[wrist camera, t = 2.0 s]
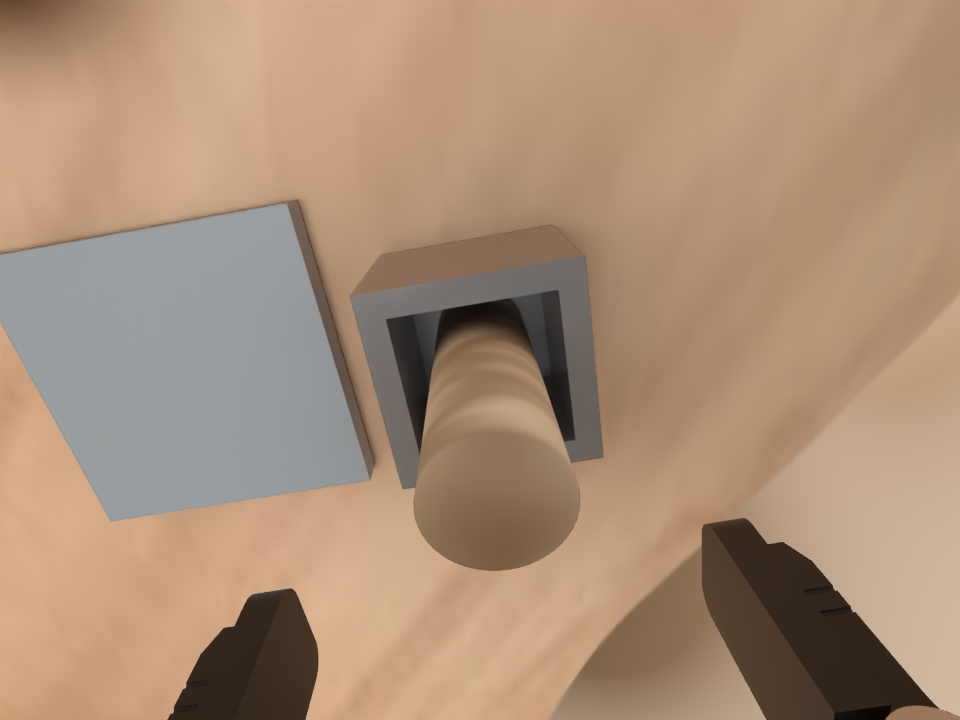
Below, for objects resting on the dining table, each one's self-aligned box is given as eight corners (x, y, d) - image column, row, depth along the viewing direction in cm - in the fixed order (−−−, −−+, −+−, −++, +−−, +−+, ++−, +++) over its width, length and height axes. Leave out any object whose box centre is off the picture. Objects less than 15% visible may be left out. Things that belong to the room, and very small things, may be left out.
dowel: (517, 280, 24) (571, 421, 12) (528, 360, 25) (587, 557, 13) (430, 294, 24) (396, 449, 12) (447, 373, 25) (432, 581, 13)
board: (297, 199, 23) (286, 203, 22) (374, 463, 28) (370, 480, 27) (-5, 254, 24) (-34, 261, 22) (127, 503, 29) (110, 521, 28)
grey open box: (552, 224, 24) (585, 255, 17) (569, 381, 27) (603, 457, 20) (380, 254, 24) (349, 296, 18) (417, 406, 27) (402, 489, 21)
